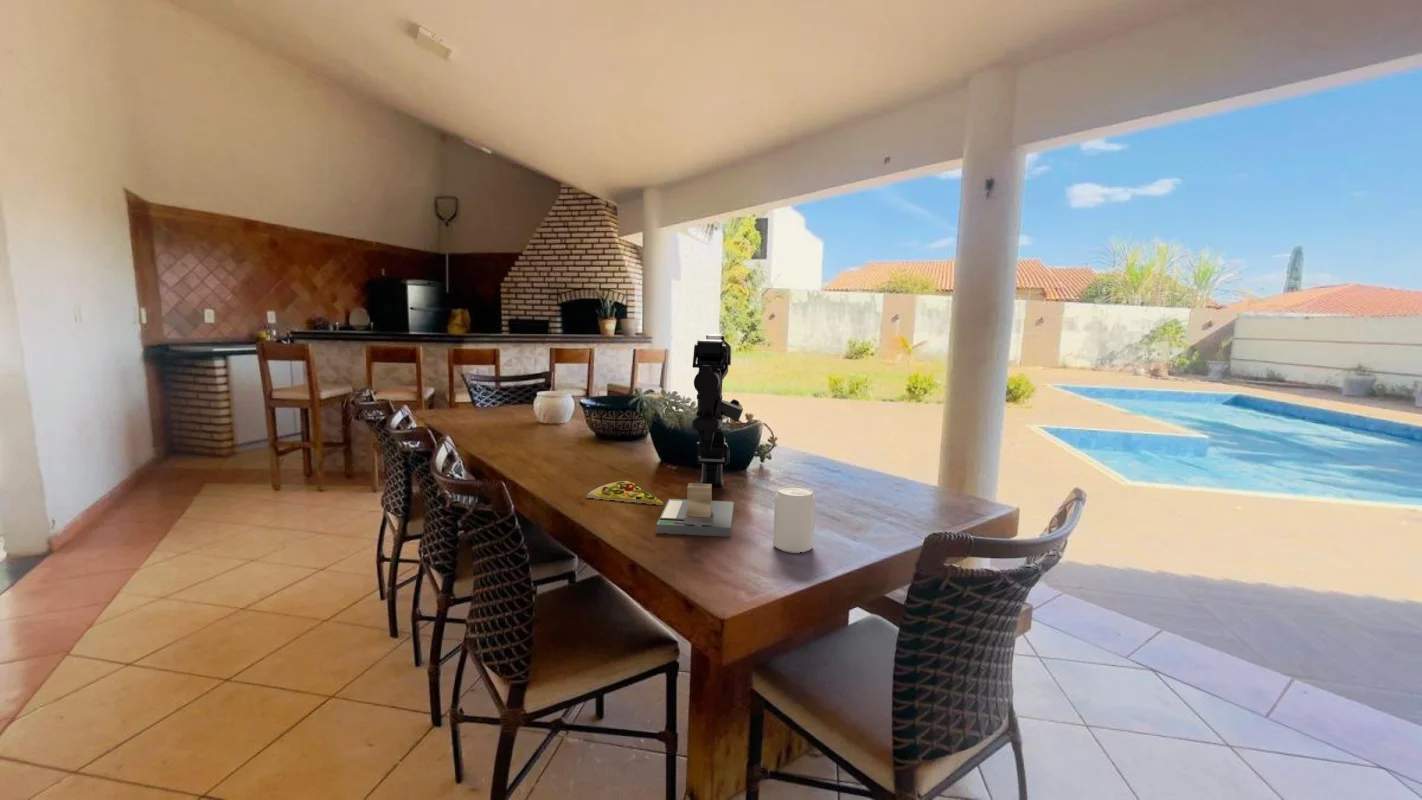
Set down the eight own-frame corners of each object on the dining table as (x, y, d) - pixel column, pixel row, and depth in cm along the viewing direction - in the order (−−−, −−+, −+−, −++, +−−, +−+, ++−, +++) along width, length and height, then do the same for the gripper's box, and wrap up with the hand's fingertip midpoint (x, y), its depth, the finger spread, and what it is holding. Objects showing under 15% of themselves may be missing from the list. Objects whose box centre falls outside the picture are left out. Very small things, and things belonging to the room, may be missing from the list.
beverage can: (784, 536, 123) (786, 482, 122) (819, 545, 119) (822, 489, 117) (765, 548, 117) (767, 491, 115) (801, 558, 112) (804, 499, 111)
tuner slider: (661, 515, 128) (662, 480, 127) (713, 518, 127) (714, 482, 126) (657, 523, 123) (658, 487, 122) (711, 526, 122) (712, 489, 121)
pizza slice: (624, 486, 161) (624, 475, 160) (682, 500, 149) (682, 489, 149) (582, 499, 148) (582, 488, 148) (642, 516, 136) (642, 504, 136)
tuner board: (668, 506, 142) (669, 497, 141) (733, 509, 140) (733, 500, 140) (656, 533, 124) (656, 522, 124) (730, 536, 123) (730, 526, 122)
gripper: (740, 395, 132) (738, 461, 134) (742, 387, 151) (740, 445, 153) (692, 394, 133) (691, 460, 135) (700, 386, 152) (699, 444, 154)
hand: (707, 452), depth 144 cm, fingers closed
